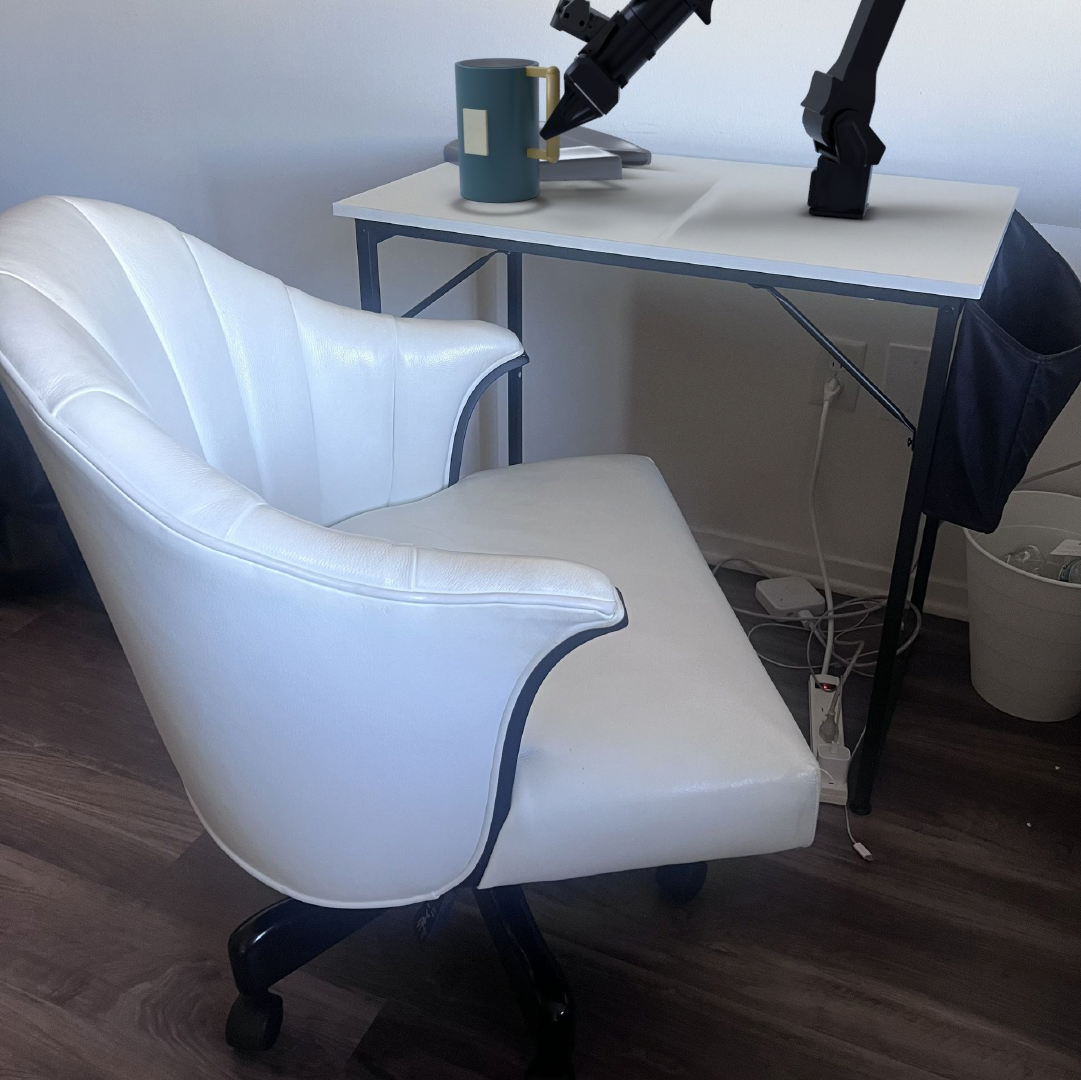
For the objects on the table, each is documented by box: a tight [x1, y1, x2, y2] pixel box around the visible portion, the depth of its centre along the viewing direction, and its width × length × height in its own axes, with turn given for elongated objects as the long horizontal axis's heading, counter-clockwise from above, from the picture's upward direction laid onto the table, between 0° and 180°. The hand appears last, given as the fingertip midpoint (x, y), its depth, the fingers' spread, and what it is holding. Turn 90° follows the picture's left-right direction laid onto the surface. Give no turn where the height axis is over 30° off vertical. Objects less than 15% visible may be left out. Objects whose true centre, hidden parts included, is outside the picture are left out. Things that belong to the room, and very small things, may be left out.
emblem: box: [442, 120, 653, 182], centre depth 146 cm, size 28×5×28 cm
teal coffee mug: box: [454, 57, 561, 204], centre depth 125 cm, size 14×10×15 cm
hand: (546, 129), depth 120 cm, fingers open, 9 cm apart
